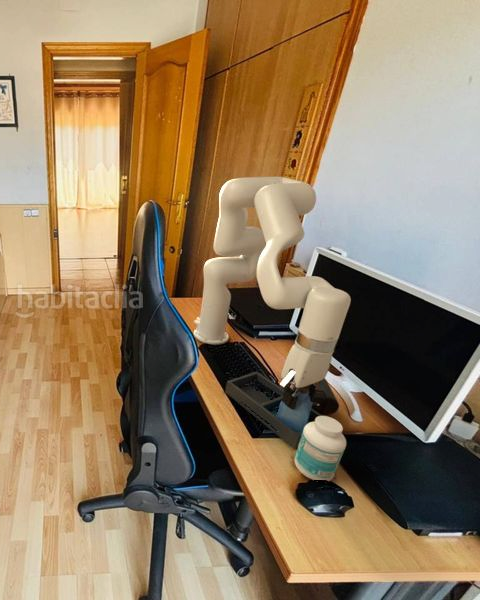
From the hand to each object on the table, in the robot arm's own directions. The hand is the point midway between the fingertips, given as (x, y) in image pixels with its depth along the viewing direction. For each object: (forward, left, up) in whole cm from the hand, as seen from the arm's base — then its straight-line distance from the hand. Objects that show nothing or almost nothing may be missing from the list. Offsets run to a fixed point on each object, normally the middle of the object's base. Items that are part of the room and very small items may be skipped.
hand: (296, 401), depth 82 cm
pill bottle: (+11, -7, -8) cm, 15 cm away
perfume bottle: (0, 0, -7) cm, 7 cm away
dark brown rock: (-3, +13, -8) cm, 16 cm away
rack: (-5, 0, -8) cm, 9 cm away
